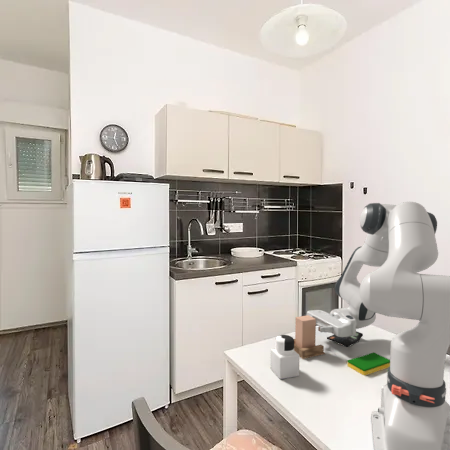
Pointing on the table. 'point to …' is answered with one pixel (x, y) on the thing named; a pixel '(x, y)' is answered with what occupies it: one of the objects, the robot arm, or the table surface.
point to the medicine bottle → (284, 358)
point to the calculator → (346, 339)
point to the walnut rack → (309, 351)
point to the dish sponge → (368, 363)
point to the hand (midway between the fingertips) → (311, 325)
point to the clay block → (305, 331)
